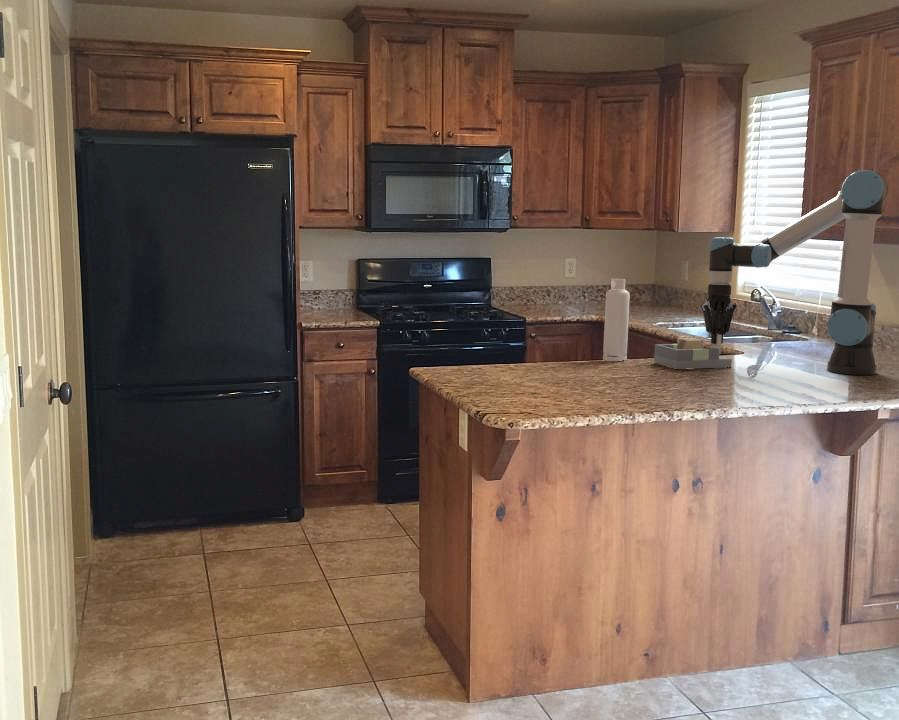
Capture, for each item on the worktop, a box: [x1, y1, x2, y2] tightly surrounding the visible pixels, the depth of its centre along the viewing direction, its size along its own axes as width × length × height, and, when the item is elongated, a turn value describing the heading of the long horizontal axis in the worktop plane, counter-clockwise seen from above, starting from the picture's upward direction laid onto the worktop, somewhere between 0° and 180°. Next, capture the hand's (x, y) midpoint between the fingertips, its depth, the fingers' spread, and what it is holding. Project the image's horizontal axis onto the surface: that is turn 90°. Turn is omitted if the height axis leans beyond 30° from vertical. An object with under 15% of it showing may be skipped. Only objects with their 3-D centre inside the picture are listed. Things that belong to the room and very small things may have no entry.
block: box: [676, 337, 704, 349], centre depth 328 cm, size 6×6×6 cm
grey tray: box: [653, 343, 732, 370], centre depth 329 cm, size 14×21×6 cm, turn 109°
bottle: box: [602, 278, 631, 362], centre depth 337 cm, size 8×8×28 cm
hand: (716, 353), depth 332 cm, fingers closed
